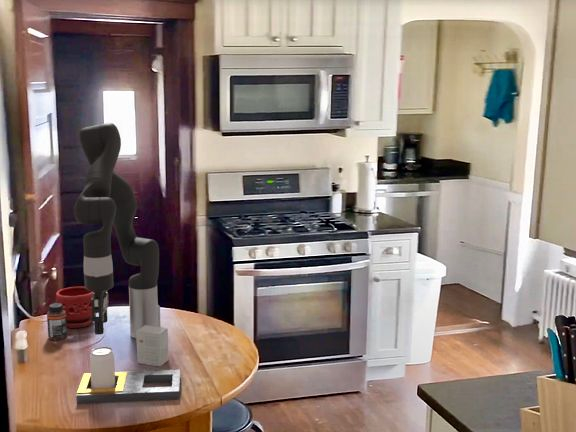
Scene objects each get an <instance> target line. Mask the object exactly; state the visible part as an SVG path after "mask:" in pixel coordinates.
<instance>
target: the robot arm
mask: <svg viewBox="0 0 576 432" xmlns="http://www.w3.org/2000/svg"><path fill="white" fill-rule="evenodd" d="M78 133H79V134H78V136H79V142H80V146H81V149H82V151H83V154H84V156H85V158H86V160H87V161H88V164H89V166H90V167H89V168H88V169H87V171H86V174H85V178H84V185H83V190H82V192H81V193H80V195H79V196H78V197H77V200H76V202H75V203H74V207H73V208H74V209H73V214H74V215H73V216H74V218H75V220H76V222H78V223H79V224H81V225H102V227H101V228H100V229H98V230H95V231H90V232H87V233H85V234H84V235H83V239H82V242H83V243H82V244H83V245H82V246H83V279H84V287H85V289H86V290H88V291H92V292H94V293H93V296H92V297H91V303H92V323H93V322H94V334H95V335H98V336H99V335H103V334H104V328H105V327H104V323H107V322H108V308H109V304H110V303H109V293H108V292H109V290H111V289H112V288H114V284H115V283H114V267H113V266H114V265H113V257H112V242H111V239H112V230H113V227H114V230H115V232H116V233H115V234H116V238H117V241H118V244H119V248H120V253H121V256H122V258H123V260H124V262H125V263H127V264H128V265H132V266H137V267H140V272H139V273H136V274H133V275H131V276H130V277H129V279H128V295H129V296H128V297H129V298H128V299H129V304H128V306H129V331H130V337H132V338H133V339H136V331H137V330H139V329H140V328H142V327H143V326H145V325H148V326H155V327H161V325H162V324H161V306H160V305H159V303H158V299H159V298H158V279H159V272H160V248H159V244H158V242H157V241H156V239H155V240H154V239H152V238H151V239H150V238H144V237H138V235H136V234H137V233H136V231H135V229H134V226H133V222H134V219H135V216H136V213H137V209H138V204H137V199H136V196H135V192H134V191H133V188H132V186H131V183H129V182H128V181H127V180H126V179H125V178H123V177H122V176H121V175H120V174H118V173H117V172H115V171H114V170H115V167H116V164H117V161H118V158H119V155H120V152H121V148H122V147H121V146H122V140H121V134H120V132H119V129H118V127H117V126H116V125H115V124H114V123H113V122H104V123H100V124H95V125H90V126H86V127H83V128H81V129H80V131H79V132H78ZM97 314H98V316H97Z"/></svg>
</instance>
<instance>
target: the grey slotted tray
mask: <svg viewBox="0 0 576 432" xmlns="http://www.w3.org/2000/svg"><path fill="white" fill-rule="evenodd" d="M79 383H80V384H79V386H78V389H77V392H76V395H75V396H76V405H86V404H87V405H88V404H107V403H109V404H112V403H135V402H155V401H156V402H158V401H177V400H178V401H179V400H180V393H181V391H180V390H181V389H180V387H181V369H161V370H160V369H159V370H157V369H156V370H133V371H128V370H127V371H115V388H101V389H91V372H84V373H83V375H82V378H81V381H80V382H79ZM161 383H163V384H164V383H165V384H166V383H171V386H155V387H152V386H151V387H150V386H149V387H145V384H161ZM116 384H117V385H116Z"/></svg>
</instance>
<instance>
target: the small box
mask: <svg viewBox="0 0 576 432" xmlns="http://www.w3.org/2000/svg"><path fill="white" fill-rule="evenodd" d="M168 332H169V329H168V327H155V326H148V325H145V326H143V327H142V328H140V329H139V330H137V331H136V338H135V339H136V355H137V356H136V360H137V364H142V365H148V366H155V367H162V366H163V365H164V364H165V363H166V362H168V361H169V359H170V355H169V333H168Z"/></svg>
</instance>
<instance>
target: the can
mask: <svg viewBox="0 0 576 432" xmlns="http://www.w3.org/2000/svg"><path fill="white" fill-rule="evenodd" d="M89 365H90V367H89V368H90V369H89V371H90V373H91V386H90V389H101V388H116V385H115V372H116V369H115V368H116V367H115V354H114V352H113V349H112V347H109V346H98V347H95V348H92V350H91V353H90V356H89Z"/></svg>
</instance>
